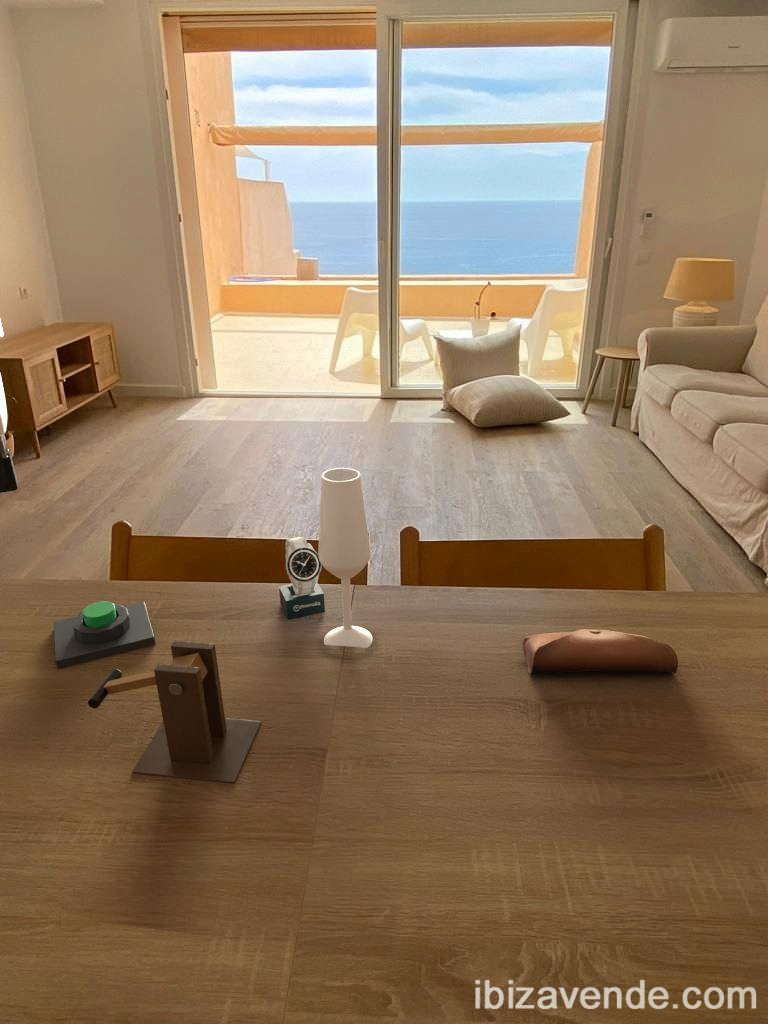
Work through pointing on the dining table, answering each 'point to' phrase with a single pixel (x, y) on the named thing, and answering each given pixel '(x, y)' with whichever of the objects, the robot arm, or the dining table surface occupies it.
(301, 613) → the watch
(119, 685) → the lever
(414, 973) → the dining table surface
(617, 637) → the sunglasses case
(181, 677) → the switch bracket
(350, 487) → the champagne flute
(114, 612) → the light button
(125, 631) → the button box
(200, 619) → the dining table surface
